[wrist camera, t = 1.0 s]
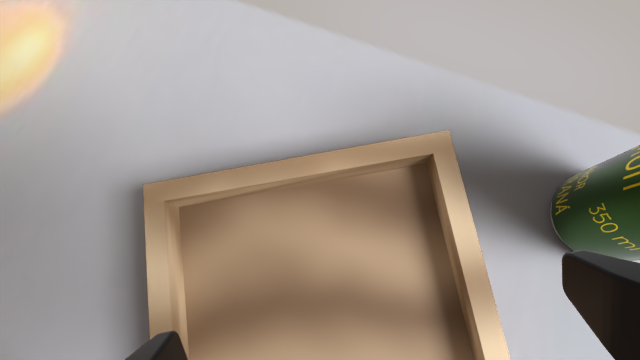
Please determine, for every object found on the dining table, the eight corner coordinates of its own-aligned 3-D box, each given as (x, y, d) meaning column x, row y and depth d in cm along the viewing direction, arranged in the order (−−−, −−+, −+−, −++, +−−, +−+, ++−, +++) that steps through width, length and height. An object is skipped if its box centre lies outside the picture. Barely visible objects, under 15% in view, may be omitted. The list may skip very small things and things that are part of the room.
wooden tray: (516, 463, 21) (546, 495, 18) (187, 514, 21) (159, 554, 18) (436, 148, 25) (449, 129, 22) (167, 195, 26) (142, 184, 23)
